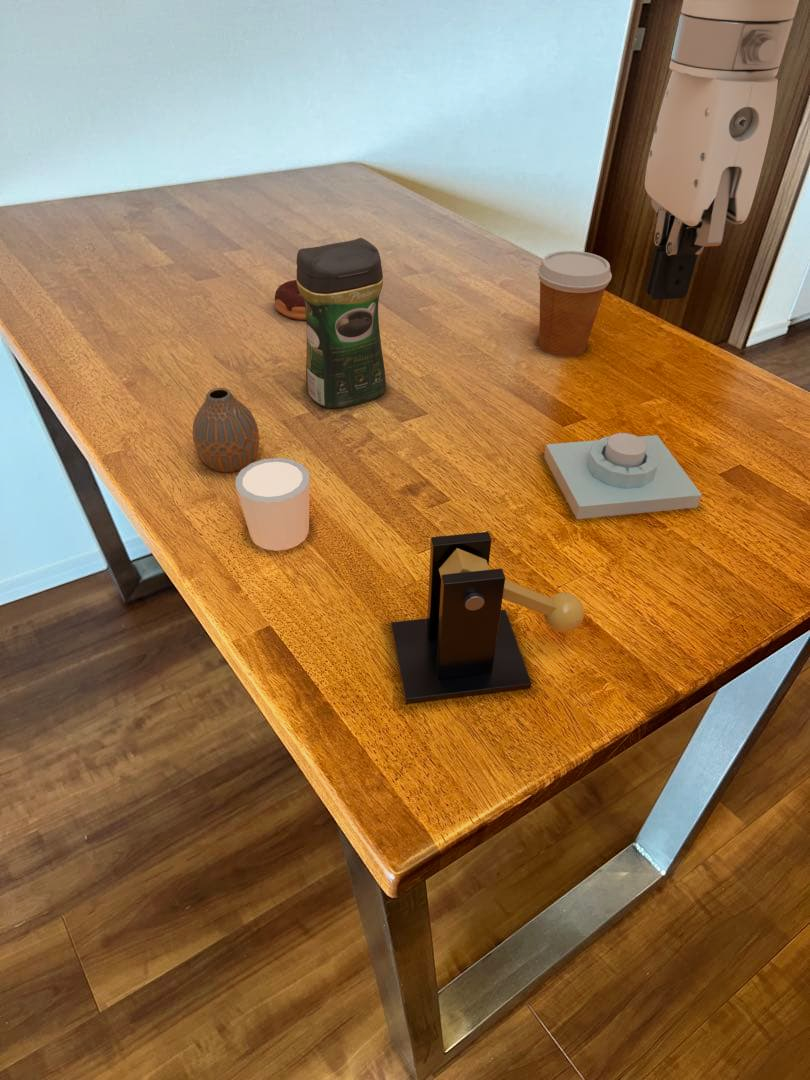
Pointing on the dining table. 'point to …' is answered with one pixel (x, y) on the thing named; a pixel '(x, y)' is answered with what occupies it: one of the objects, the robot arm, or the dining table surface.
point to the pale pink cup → (275, 502)
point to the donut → (290, 301)
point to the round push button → (625, 450)
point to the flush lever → (524, 594)
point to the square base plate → (619, 480)
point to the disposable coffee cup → (570, 299)
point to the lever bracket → (459, 632)
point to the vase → (225, 432)
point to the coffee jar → (342, 322)
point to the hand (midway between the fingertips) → (665, 294)
